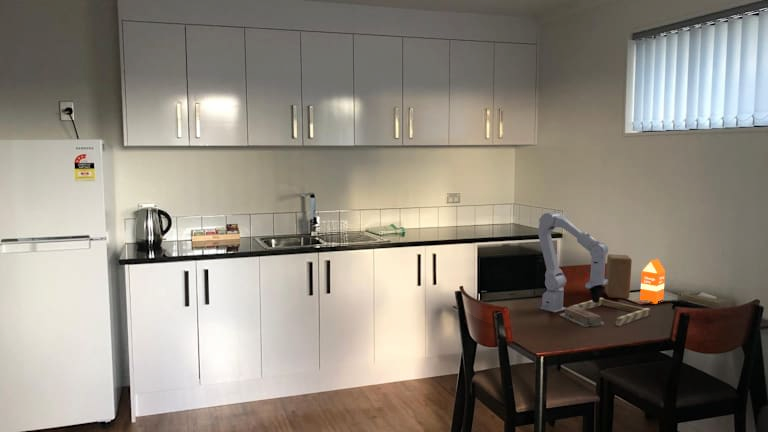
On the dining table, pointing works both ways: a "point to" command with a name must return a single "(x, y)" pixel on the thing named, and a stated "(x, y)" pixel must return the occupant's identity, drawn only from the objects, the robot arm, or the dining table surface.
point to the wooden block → (618, 276)
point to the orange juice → (652, 282)
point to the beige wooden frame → (621, 320)
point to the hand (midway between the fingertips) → (595, 302)
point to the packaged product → (582, 316)
